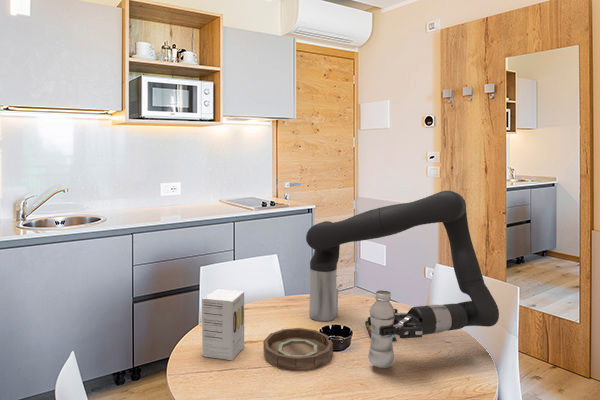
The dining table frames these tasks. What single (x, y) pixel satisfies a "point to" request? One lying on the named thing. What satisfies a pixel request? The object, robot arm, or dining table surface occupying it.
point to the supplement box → (223, 324)
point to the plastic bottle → (380, 317)
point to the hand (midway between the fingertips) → (374, 326)
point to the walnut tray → (297, 349)
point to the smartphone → (371, 331)
